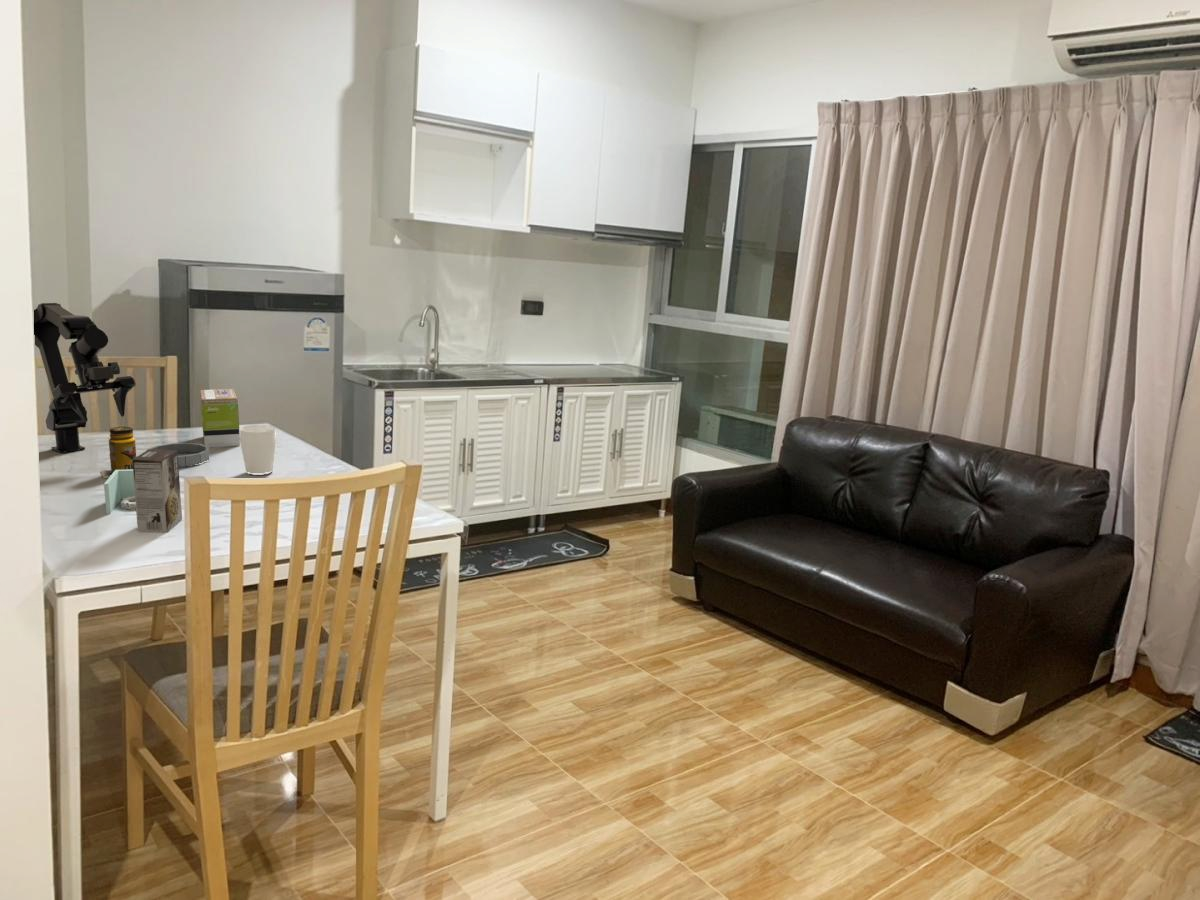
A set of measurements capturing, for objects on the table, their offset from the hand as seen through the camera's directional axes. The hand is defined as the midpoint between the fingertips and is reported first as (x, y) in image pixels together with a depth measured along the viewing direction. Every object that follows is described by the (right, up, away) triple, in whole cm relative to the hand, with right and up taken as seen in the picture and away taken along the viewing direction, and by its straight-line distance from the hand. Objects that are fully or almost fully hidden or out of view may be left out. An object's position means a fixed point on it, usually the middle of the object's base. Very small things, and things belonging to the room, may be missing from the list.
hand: (104, 418), depth 238 cm
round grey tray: (+13, -11, +13) cm, 22 cm away
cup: (+38, -14, +6) cm, 41 cm away
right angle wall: (+22, -22, -25) cm, 40 cm away
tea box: (+15, -6, +37) cm, 40 cm away
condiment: (+5, -14, -1) cm, 15 cm away
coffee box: (+33, -25, -39) cm, 57 cm away
